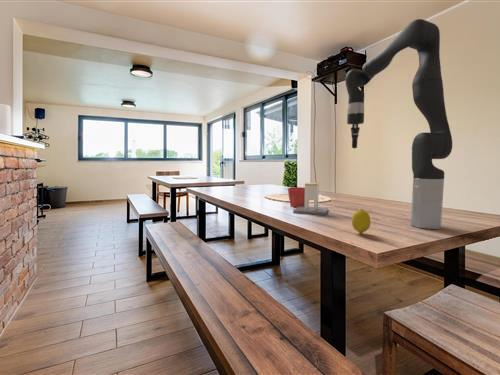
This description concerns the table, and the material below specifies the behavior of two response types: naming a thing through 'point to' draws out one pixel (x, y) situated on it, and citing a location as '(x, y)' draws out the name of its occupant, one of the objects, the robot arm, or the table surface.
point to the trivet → (311, 210)
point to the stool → (311, 194)
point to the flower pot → (296, 196)
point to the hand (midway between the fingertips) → (354, 147)
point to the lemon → (361, 221)
